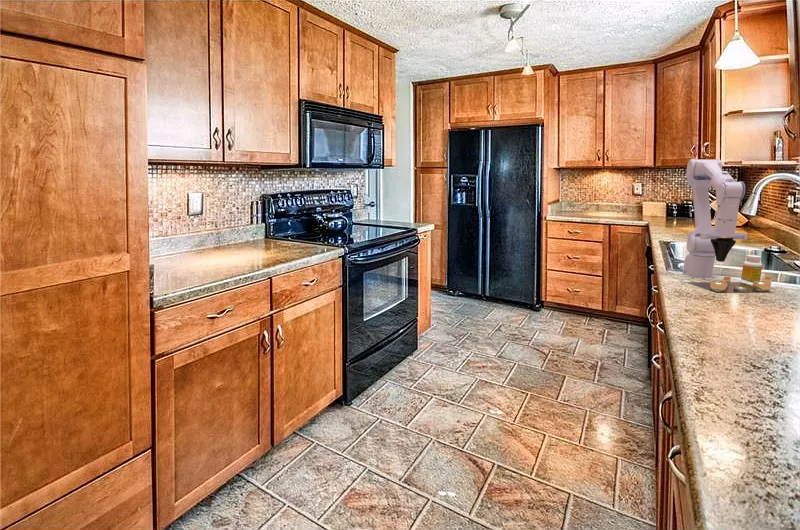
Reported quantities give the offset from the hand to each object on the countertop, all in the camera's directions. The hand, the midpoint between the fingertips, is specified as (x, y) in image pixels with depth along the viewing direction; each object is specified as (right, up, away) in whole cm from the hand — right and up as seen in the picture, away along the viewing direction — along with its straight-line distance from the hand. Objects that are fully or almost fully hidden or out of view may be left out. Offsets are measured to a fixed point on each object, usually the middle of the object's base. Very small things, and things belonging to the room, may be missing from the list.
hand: (720, 261), depth 157 cm
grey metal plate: (+2, -10, -2) cm, 10 cm away
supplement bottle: (+17, -8, +11) cm, 22 cm away
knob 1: (-3, -9, -4) cm, 10 cm away
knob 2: (+11, -9, -4) cm, 15 cm away
